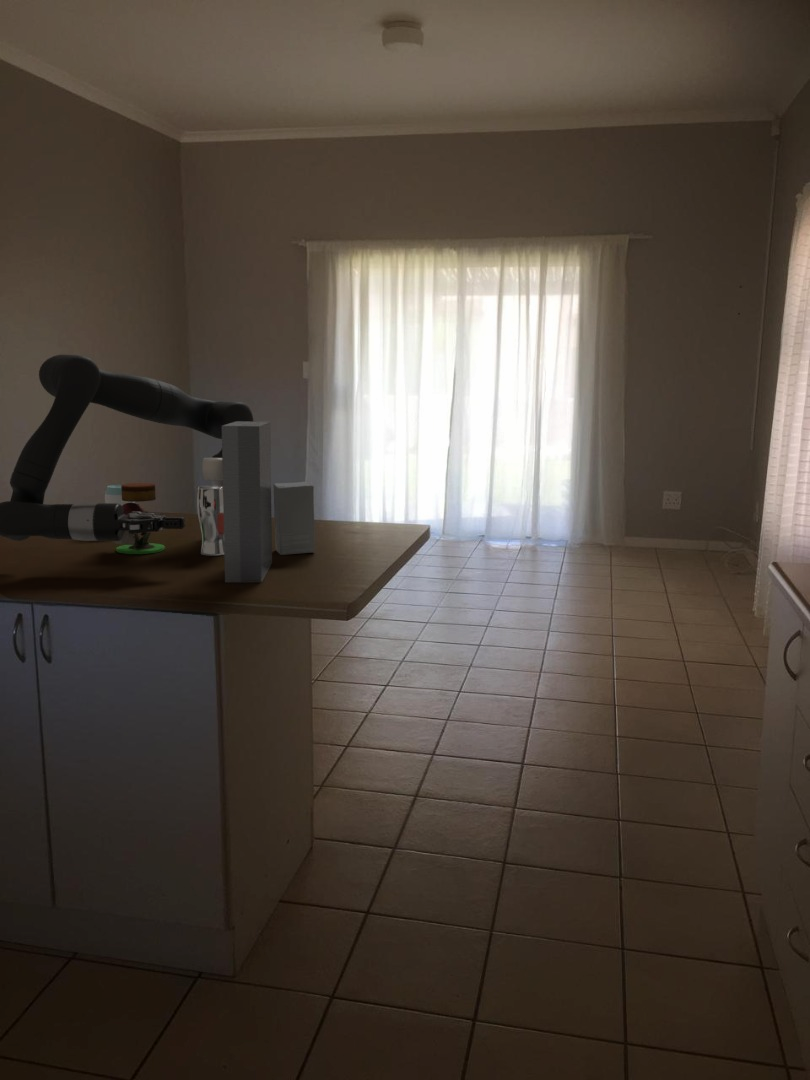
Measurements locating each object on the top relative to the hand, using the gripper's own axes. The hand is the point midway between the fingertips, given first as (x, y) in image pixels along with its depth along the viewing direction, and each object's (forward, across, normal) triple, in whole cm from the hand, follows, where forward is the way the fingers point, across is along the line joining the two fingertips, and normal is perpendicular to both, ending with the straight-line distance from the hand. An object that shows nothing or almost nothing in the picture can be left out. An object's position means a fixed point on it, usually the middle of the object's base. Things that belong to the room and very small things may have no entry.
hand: (184, 522), depth 178 cm
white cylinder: (+7, 0, -9) cm, 11 cm away
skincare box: (+20, +22, +10) cm, 31 cm away
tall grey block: (+13, 0, +10) cm, 16 cm away
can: (-25, +45, +10) cm, 52 cm away
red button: (+9, 0, +2) cm, 10 cm away
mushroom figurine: (-15, +23, +10) cm, 30 cm away
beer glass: (+2, +20, +10) cm, 22 cm away
